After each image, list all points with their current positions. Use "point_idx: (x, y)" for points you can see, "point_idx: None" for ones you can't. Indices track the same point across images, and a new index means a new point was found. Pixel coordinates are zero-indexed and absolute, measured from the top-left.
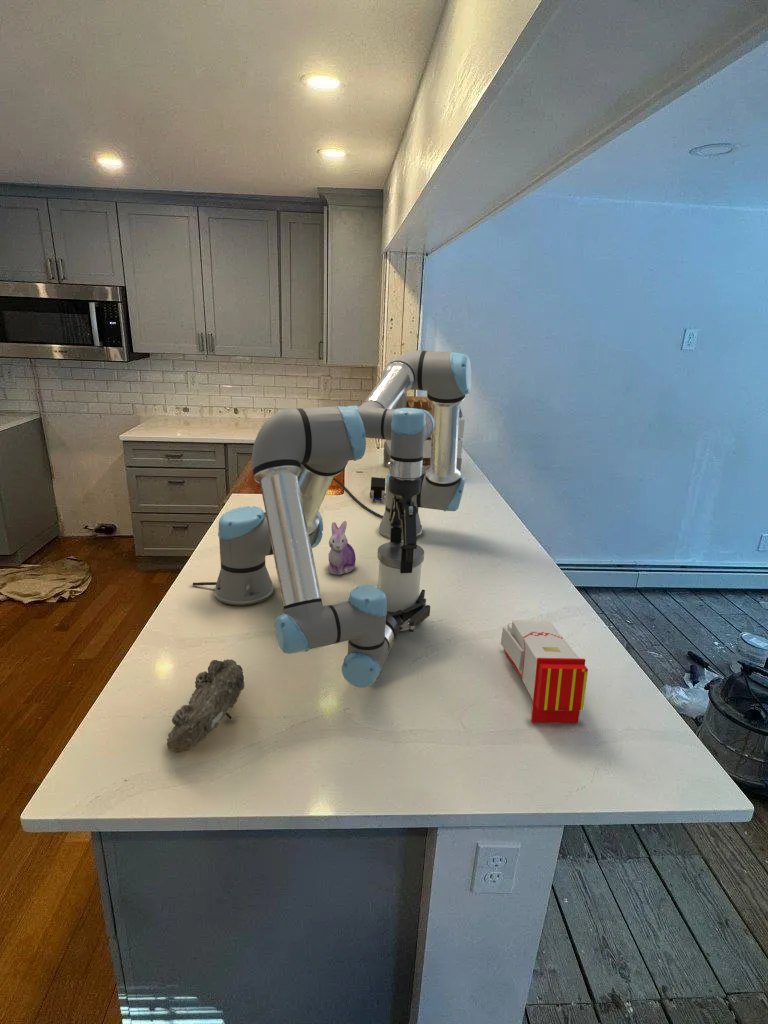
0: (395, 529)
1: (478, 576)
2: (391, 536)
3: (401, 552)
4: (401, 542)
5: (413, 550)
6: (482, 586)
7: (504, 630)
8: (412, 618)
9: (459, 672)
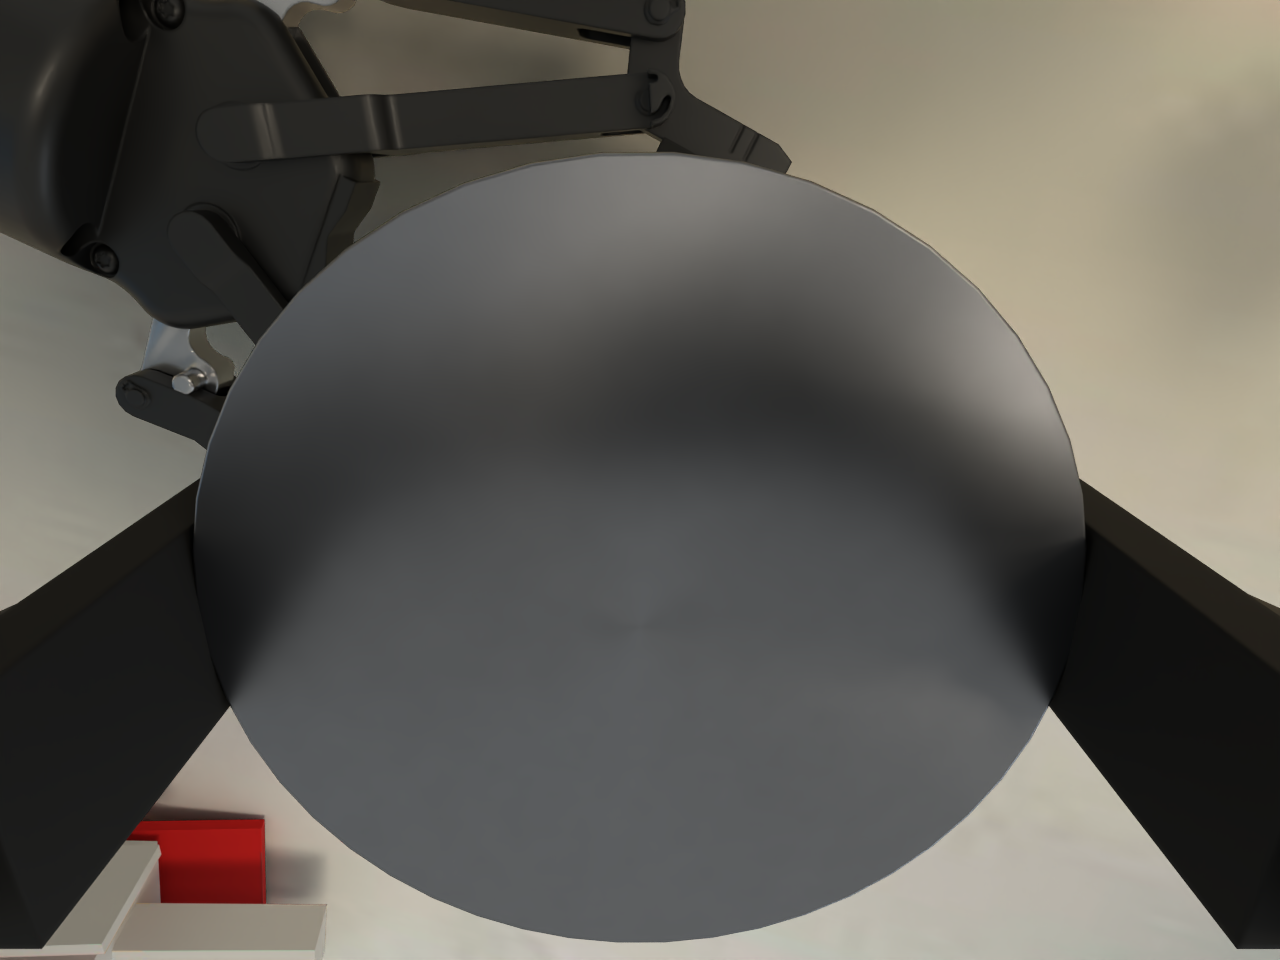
0: (1268, 794)
1: (1075, 941)
2: (1166, 597)
3: (42, 622)
4: (996, 707)
5: (612, 812)
6: (950, 924)
7: (74, 934)
8: (196, 413)
9: (54, 560)
